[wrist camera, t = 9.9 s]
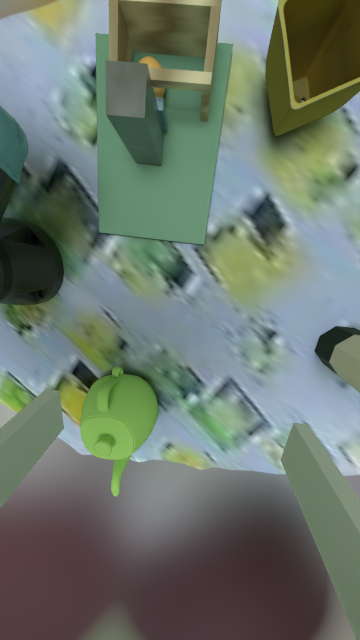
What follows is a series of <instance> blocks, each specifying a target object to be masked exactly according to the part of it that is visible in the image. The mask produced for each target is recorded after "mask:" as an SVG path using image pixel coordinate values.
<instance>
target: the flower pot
mask: <svg viewBox="0 0 360 640" xmlns="http://www.w3.org/2000/svg"><path fill="white" fill-rule="evenodd" d="M266 86H267V93H268V99H269V105H270V112H271V118H272V125H273V132H274V135H275V136H279V135H282V134H284V133H286V132H288V131H291V130H293V129H296V128H298V127H300V126H303V125H305V124H308V123H310V122H312V121H315V120H317V119H320V118H322V117H325V116H327V115H329V114H331V113H332V112H334V111H336V110H337V109H339V108H340V107H341V106H343V105H344V104H345V103H347V102H348V101H349V100H350V99H351V98H352V97H354V96H355V95H356V94H357V93H358V92H359V91H360V0H279V3H278V7H277V12H276V16H275V21H274V25H273V30H272V34H271V39H270V44H269V49H268V54H267V60H266ZM302 99H304V100H305V101H304V102H302V103H301V100H302Z"/></svg>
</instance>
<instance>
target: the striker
mask: <svg viewBox="0 0 360 640" xmlns="http://www.w3.org/2000/svg"><path fill="white" fill-rule="evenodd" d="M105 64H106V116H107V117H108V119H109V121H110V122H111V124H112V125H113V127H114V129H115V130H116V132H117V133H118V135H119V137H120V138H121V140H122V142H123V143H124V145H125V146H126V148H127V150H128V151H129V153H130V155H131V156H132V158H133V159H134V161H135V163H143V164H152V165H162V154H163V140H164V131H167V128H168V118H167V113H166V108H165V103H164V98H161V97H155V93H154V89H153V85H152V81H151V77H150V73H149V69H148V65H147V64H146V63H133V62H121V61H109V60H105Z"/></svg>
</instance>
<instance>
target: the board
mask: <svg viewBox="0 0 360 640" xmlns="http://www.w3.org/2000/svg"><path fill="white" fill-rule="evenodd" d="M232 47H233V44H228V43H217V49H216V57H215V65H214V73H213V81H212V89H211V97H210V105H209V113H208V121H207V122H203V121H200V118H201V91H191V90H180V89H168V88H165V93H164V96H163V98H164V103H165V108H166V113H167V118H168V128H167V131H164V140H163V154H162V165H152V164H143V163H135V161H134V159H133V158H132V156H131V155H130V153H129V151H128V150H127V148H126V146H125V145H124V143H123V142H122V140H121V138H120V137H119V135H118V133H117V132H116V130H115V129H114V127H113V125H112V124H111V122H110V121H109V119H108V117H107V116H106V76H105V60H109V34H96V78H97V138H98V197H99V232H100V233H106V234H114V235H123V236H131V237H140V238H148V239H157V240H165V241H174V242H182V243H191V244H199V245H204V242H205V235H206V228H207V221H208V214H209V207H210V200H211V193H212V186H213V179H214V172H215V166H216V159H217V152H218V145H219V138H220V131H221V124H222V117H223V110H224V103H225V96H226V89H227V82H228V75H229V68H230V61H231V54H232ZM146 56H150V57H153V58H155V59H156V60H157V61H158V62H159V63H160V65H161V67H162V68H165V69H177V70H189V71H202V72H204V64H205V58H200V57H187V56H175V55H162V54H149V53H137V52H133V59H132V62H133V63H138V62H139V61H140V60H141V59H142V58H144V57H146Z"/></svg>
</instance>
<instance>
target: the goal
mask: <svg viewBox="0 0 360 640" xmlns="http://www.w3.org/2000/svg"><path fill="white" fill-rule="evenodd" d="M221 1H222V0H109V61H121V62H132V59H133V52H137V53H149V54H162V55H175V56H187V57H200V58H205V64H204V72H202V71H189V70H177V69H165V68H153V67H148V69H149V73H150V77H151V81H152V85H153V87H156V88H168V89H180V90H191V91H201V118H200V121H203V122H207V121H208V113H209V105H210V97H211V89H212V81H213V73H214V65H215V57H216V49H217V41H218V31H219V21H220V11H221ZM105 76H106V64H105Z"/></svg>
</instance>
